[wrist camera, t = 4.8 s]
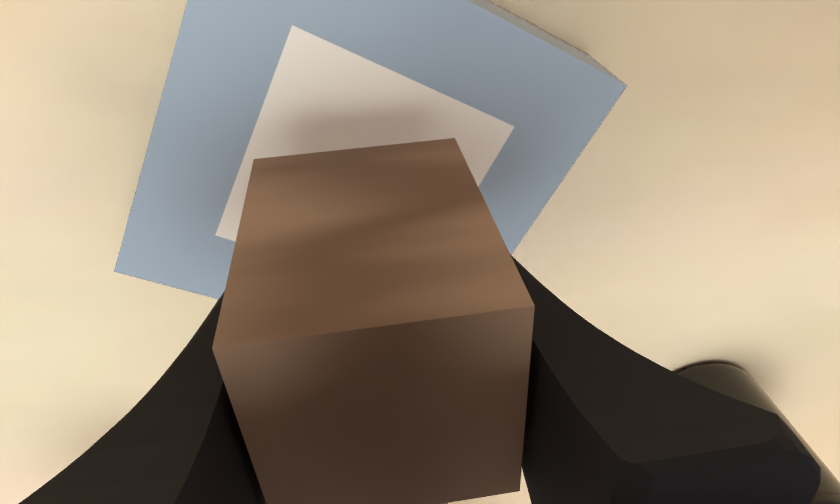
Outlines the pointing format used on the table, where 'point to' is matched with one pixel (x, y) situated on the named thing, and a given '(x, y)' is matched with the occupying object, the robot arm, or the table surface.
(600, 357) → the robot arm
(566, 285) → the table surface
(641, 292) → the table surface
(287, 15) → the slate plinth
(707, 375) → the supplement bottle
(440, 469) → the walnut block
